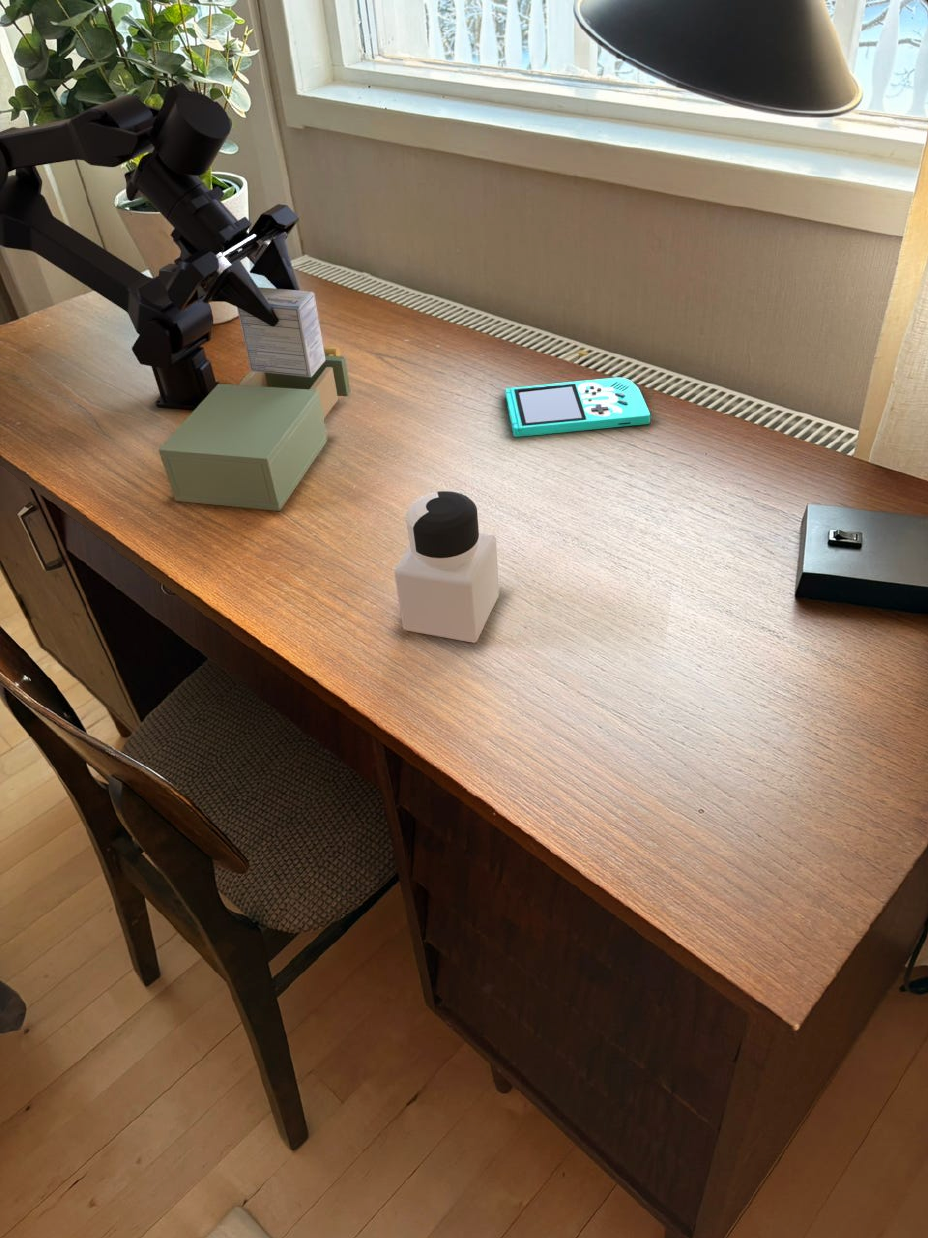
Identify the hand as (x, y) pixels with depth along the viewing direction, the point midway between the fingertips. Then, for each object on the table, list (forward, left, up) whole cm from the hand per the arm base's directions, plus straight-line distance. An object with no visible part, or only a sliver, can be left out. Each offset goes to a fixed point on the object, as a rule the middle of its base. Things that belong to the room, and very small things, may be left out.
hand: (289, 314), depth 106 cm
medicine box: (-2, 0, -7) cm, 7 cm away
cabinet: (-3, -11, -14) cm, 18 cm away
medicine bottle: (+26, -31, -14) cm, 43 cm away
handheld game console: (+31, +7, -14) cm, 35 cm away
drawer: (-3, +2, -13) cm, 13 cm away
